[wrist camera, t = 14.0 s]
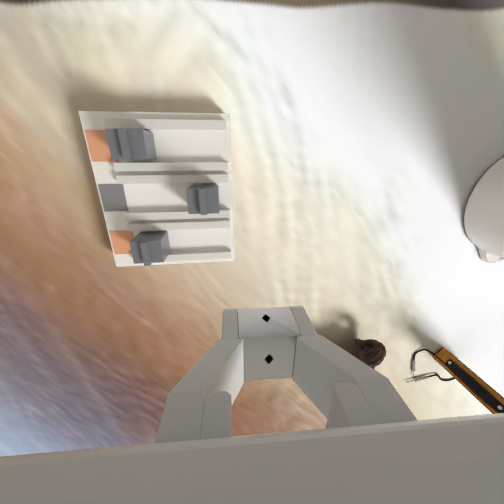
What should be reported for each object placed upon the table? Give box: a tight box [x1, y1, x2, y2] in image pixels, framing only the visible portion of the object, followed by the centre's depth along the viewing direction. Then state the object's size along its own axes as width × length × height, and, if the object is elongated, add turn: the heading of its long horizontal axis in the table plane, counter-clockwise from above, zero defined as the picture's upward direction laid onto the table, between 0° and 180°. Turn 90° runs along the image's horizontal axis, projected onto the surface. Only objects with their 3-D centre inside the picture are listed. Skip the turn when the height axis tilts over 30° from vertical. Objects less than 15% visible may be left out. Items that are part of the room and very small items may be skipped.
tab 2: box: [129, 231, 170, 266], centre depth 25 cm, size 3×2×4 cm
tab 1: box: [105, 128, 157, 160], centre depth 21 cm, size 3×2×4 cm
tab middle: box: [186, 185, 220, 215], centre depth 24 cm, size 3×2×4 cm
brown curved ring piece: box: [355, 339, 386, 369], centre depth 38 cm, size 12×10×8 cm
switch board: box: [78, 111, 235, 267], centre depth 26 cm, size 14×16×3 cm
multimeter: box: [407, 348, 504, 414], centre depth 36 cm, size 15×10×20 cm
